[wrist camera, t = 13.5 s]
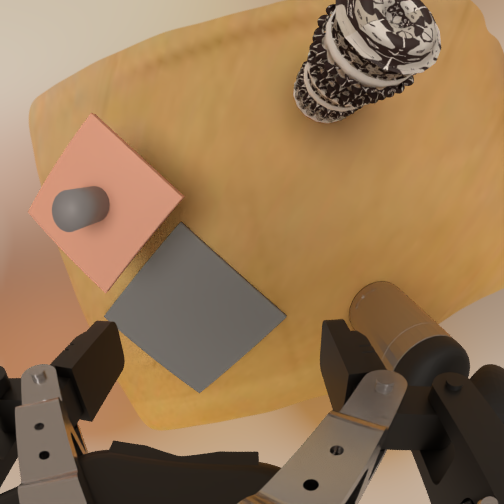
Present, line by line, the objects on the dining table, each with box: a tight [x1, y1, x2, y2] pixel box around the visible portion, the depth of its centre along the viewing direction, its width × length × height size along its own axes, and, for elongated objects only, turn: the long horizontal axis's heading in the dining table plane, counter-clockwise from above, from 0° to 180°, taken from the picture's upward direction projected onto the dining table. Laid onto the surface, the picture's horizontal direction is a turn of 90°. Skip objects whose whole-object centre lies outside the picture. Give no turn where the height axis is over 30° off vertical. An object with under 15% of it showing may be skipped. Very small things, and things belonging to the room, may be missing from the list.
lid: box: [28, 113, 185, 293], centre depth 26 cm, size 13×13×6 cm
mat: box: [104, 222, 287, 393], centre depth 46 cm, size 20×20×1 cm
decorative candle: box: [293, 0, 441, 123], centre depth 26 cm, size 9×9×25 cm
